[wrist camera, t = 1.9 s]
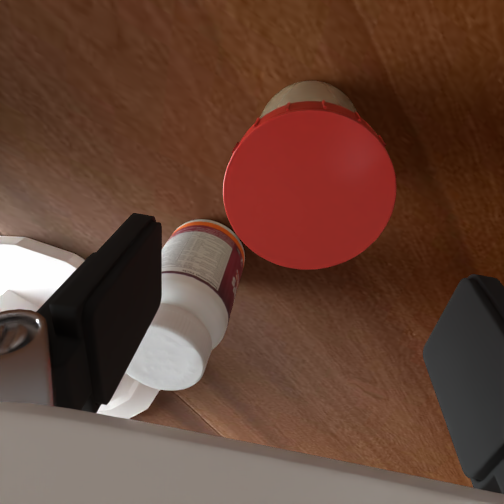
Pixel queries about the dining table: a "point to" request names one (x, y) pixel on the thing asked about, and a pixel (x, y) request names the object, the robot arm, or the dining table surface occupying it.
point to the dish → (41, 289)
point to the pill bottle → (190, 305)
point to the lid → (309, 186)
